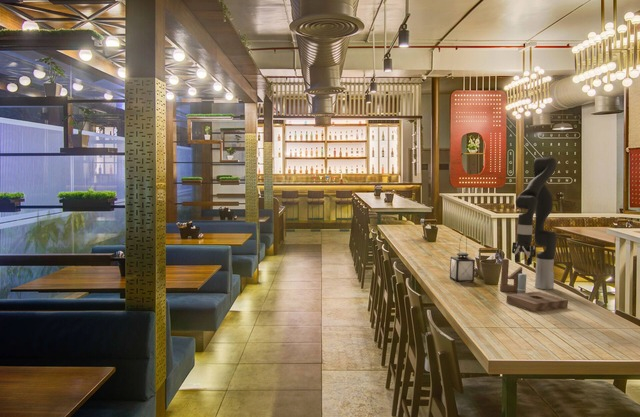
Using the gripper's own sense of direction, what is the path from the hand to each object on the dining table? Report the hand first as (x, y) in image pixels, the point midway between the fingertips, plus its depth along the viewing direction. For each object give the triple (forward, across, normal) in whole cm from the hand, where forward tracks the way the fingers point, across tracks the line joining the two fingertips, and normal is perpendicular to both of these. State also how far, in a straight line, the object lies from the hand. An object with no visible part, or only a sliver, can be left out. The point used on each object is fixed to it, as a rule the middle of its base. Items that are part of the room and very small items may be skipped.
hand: (522, 263), depth 267 cm
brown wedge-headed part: (+18, +11, -3) cm, 22 cm away
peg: (+18, 0, 0) cm, 18 cm away
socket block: (+18, -16, +6) cm, 25 cm away
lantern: (+18, +44, +4) cm, 48 cm away
